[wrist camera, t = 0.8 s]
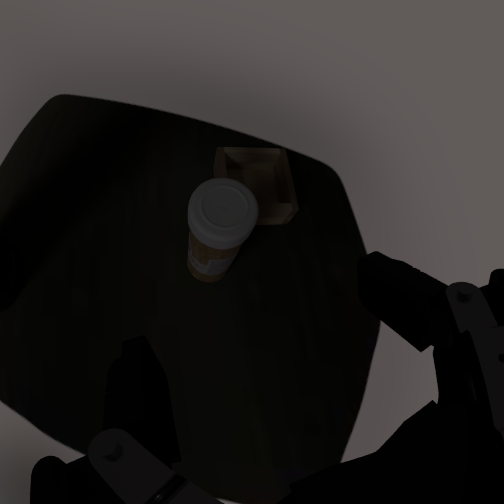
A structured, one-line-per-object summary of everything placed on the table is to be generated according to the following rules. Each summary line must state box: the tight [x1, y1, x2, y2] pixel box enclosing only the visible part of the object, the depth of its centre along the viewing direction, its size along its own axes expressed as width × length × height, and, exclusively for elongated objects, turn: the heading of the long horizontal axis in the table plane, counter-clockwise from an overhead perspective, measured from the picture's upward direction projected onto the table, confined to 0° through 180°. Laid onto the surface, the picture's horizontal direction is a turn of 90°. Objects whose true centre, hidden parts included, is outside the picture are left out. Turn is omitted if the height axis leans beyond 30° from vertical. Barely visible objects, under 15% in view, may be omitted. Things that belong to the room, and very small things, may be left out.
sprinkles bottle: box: [187, 178, 259, 282], centre depth 24 cm, size 5×5×14 cm
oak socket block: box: [214, 147, 299, 225], centre depth 32 cm, size 8×8×4 cm
